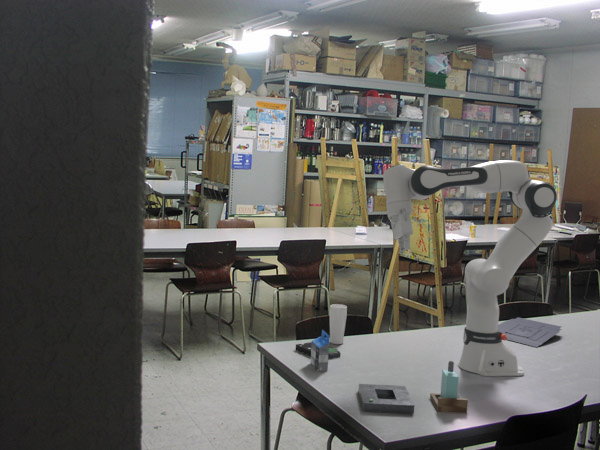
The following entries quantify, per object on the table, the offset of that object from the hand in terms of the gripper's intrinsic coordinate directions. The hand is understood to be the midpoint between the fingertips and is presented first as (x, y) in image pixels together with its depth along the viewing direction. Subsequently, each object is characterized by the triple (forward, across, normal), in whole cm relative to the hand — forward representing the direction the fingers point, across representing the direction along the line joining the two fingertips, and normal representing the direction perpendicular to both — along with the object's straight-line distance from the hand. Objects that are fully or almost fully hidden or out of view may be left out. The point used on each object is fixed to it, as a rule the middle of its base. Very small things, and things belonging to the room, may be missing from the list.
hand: (405, 250), depth 217 cm
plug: (+49, -23, -3) cm, 54 cm away
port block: (+46, -24, +16) cm, 54 cm away
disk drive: (+34, +21, +34) cm, 53 cm away
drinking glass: (+32, +36, +26) cm, 55 cm away
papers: (+41, +64, -57) cm, 95 cm away
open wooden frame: (+49, -23, -3) cm, 54 cm away
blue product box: (+37, +5, +34) cm, 51 cm away
